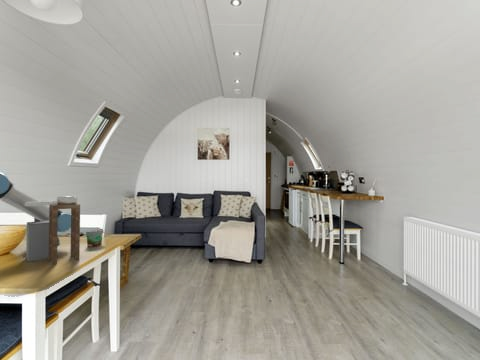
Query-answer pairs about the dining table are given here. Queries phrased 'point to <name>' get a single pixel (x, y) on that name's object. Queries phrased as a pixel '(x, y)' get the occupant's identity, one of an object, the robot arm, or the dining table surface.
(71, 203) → the silver saucepan
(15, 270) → the dining table surface
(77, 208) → the tall stand
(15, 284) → the dining table surface
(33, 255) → the gray rectangular block
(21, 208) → the robot arm
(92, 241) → the food container
